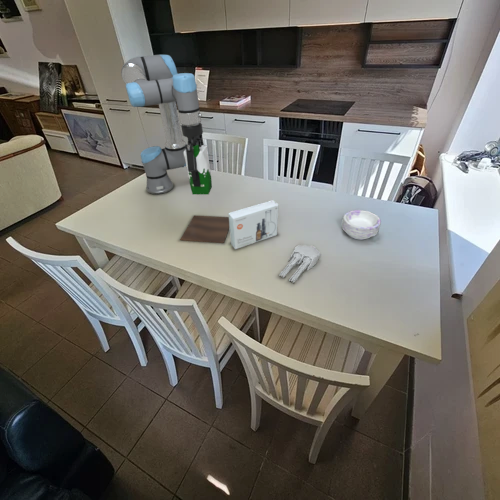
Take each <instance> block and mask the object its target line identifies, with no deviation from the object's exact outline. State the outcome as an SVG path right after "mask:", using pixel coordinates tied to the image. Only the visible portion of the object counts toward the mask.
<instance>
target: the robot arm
mask: <svg viewBox="0 0 500 500" xmlns="http://www.w3.org/2000/svg"><path fill="white" fill-rule="evenodd" d="M120 76H121V79H122V81H123V83H124V84H125V89H126V93H127V96H128V100H129V103H130V105H131V107H133V108H139V107H141V108H143V107H148V106H154V105H155V106H156V105H158V108H159V113H160V118H161V122H162V126H163V127H162V128H163V132H164V136H165V140H166V142H165V143H164V148H162V147H161V146H158V145H156V146H155V145H154V146H149V147H147V148H145V149H143V150H142V151H141V152H140V159H141V163H142V166H143V169H144V173H145V176H146V191H147V193H148V194H150V195H163V194H167V193H169V192H170V191H172V190H173V189H174V183H173V181H172V179H171V178H170V177H169V175H168V171H170V170H174V169H175V170H177V169H179V168H185V167H186V162H185V157H184V153H183V152H184V151H185V149H186V154H187V164H188V172H191V174H192V180H193V185H194V187H200V186H201V184H200V178H199V172H198V170H197V161H196V157H194V150H193V146H195V145H199V146H200V147H201V146H202V145H205V143H204V140H203V139H204V138H203V133H204V131H203V124H202V123H201V122H202V116H203V115H202V113H201V111H200V102H199V97H198V89H197V88H198V84H197V82H196V77H195V75H194V74H193V73H189V72H184V73H183V72H182V73H178V70H177V67H176V64H175V62H174V60H173V58H172V56H171V55H170V54H153V55H144V56H135V57H132V58H130V59H128V60H126V62H125V63H124V64H123V65H122V67H121V70H120ZM183 137H184V138H187V143H186V141H185V140H184V139H183ZM188 172H187V173H188Z"/></svg>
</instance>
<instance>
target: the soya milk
mask: <svg viewBox="0 0 500 500" xmlns="http://www.w3.org/2000/svg"><path fill="white" fill-rule="evenodd" d="M193 150H194V157H196V161H197V170H198V172H199V178H200V184H201V186H200V187H194V185H193V180H192V174H191V172H188V164H187V154H186V149H185V151H184V152H183V153H184V157H185V162H186V166H185V167H186V171H187V176H188V181H189V186H190V190H191V194H192V195H203V196H204V195H205V196H206V195H210V192H211V190H212V187H213V181H212V180H213V179H212V173H211V165H210V158H209V151H208V145H207V144H204V145H202V146H201V147H200V146H199V145H195V146H193Z"/></svg>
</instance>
